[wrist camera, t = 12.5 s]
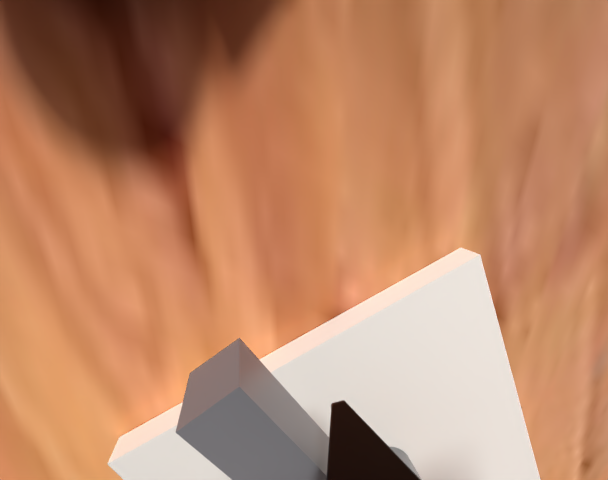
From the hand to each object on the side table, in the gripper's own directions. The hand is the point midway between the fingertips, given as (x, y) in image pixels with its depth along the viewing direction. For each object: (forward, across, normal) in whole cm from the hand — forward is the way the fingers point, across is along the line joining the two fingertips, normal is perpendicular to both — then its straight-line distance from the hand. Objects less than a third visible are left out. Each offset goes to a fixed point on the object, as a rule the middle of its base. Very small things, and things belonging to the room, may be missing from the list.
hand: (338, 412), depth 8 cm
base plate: (+5, -2, +10) cm, 11 cm away
